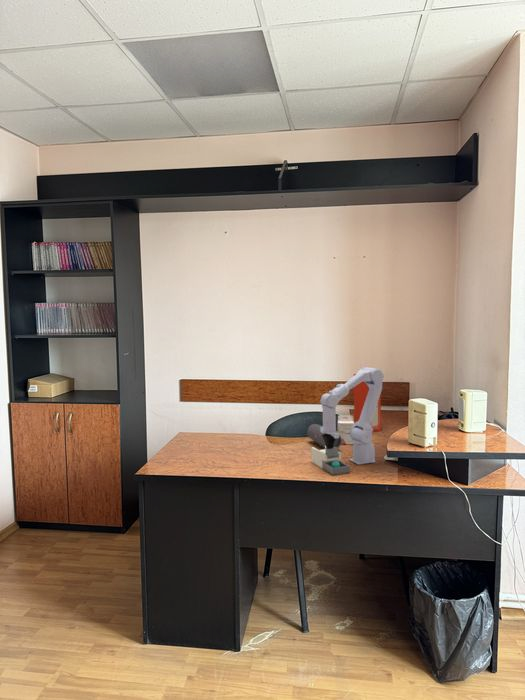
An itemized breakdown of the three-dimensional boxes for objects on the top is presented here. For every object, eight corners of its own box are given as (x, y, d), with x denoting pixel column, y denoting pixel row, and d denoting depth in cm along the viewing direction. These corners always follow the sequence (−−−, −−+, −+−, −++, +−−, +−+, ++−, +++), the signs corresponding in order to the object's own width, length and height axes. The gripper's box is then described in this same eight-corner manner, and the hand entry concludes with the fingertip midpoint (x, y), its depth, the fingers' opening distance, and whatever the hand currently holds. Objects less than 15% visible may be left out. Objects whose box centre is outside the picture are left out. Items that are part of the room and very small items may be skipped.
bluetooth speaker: (306, 442, 259) (305, 423, 258) (321, 440, 262) (321, 422, 262) (326, 453, 238) (326, 433, 237) (342, 450, 241) (342, 431, 240)
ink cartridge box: (337, 444, 252) (337, 417, 251) (337, 442, 257) (337, 415, 256) (354, 444, 251) (354, 417, 250) (353, 442, 256) (353, 415, 255)
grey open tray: (340, 467, 215) (340, 460, 215) (349, 473, 207) (349, 466, 207) (323, 469, 212) (323, 463, 212) (332, 475, 205) (332, 468, 205)
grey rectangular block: (335, 455, 215) (335, 446, 215) (338, 456, 214) (338, 447, 213) (325, 456, 214) (325, 448, 213) (327, 458, 212) (327, 449, 212)
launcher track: (326, 459, 227) (326, 445, 227) (341, 468, 214) (341, 453, 214) (311, 461, 225) (311, 447, 224) (325, 470, 211) (325, 455, 211)
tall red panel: (368, 432, 277) (368, 377, 274) (353, 425, 293) (353, 373, 291) (381, 431, 279) (380, 376, 277) (365, 424, 296) (365, 373, 293)
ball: (337, 466, 213) (338, 459, 212) (340, 470, 210) (341, 463, 209) (329, 467, 212) (330, 460, 211) (333, 471, 209) (334, 464, 208)
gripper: (314, 418, 220) (314, 447, 221) (328, 424, 206) (329, 455, 207) (327, 416, 222) (328, 445, 223) (343, 423, 209) (343, 453, 210)
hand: (329, 450), depth 216 cm, fingers closed
